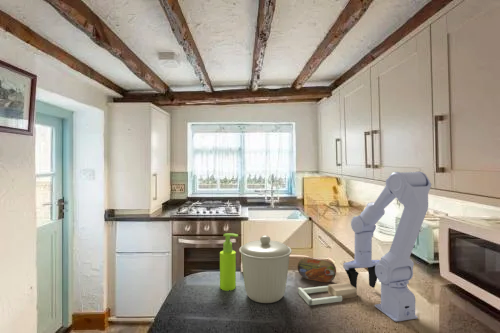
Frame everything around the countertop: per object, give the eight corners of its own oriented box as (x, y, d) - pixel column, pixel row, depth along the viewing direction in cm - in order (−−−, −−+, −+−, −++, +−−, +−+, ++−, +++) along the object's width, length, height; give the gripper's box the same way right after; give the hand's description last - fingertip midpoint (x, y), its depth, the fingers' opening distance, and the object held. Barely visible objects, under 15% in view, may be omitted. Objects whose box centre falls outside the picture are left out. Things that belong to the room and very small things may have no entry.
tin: (297, 277, 116) (297, 256, 116) (299, 274, 118) (299, 254, 118) (335, 284, 109) (335, 262, 108) (336, 281, 111) (337, 260, 111)
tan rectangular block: (356, 297, 99) (356, 288, 99) (335, 299, 97) (335, 290, 97) (348, 290, 103) (348, 282, 103) (328, 293, 102) (328, 284, 102)
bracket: (342, 301, 96) (342, 295, 96) (309, 305, 93) (309, 299, 93) (328, 289, 104) (328, 284, 104) (298, 293, 101) (298, 287, 101)
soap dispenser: (236, 291, 103) (236, 236, 102) (217, 289, 104) (217, 235, 104) (240, 284, 108) (240, 232, 108) (222, 283, 110) (222, 231, 110)
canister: (289, 312, 88) (289, 244, 88) (233, 306, 92) (233, 241, 92) (292, 287, 106) (293, 230, 106) (245, 283, 110) (245, 228, 110)
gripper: (373, 245, 108) (373, 281, 108) (338, 248, 105) (338, 284, 105) (386, 251, 101) (386, 289, 101) (349, 254, 98) (349, 293, 98)
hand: (362, 287), depth 102 cm, fingers open, 7 cm apart
